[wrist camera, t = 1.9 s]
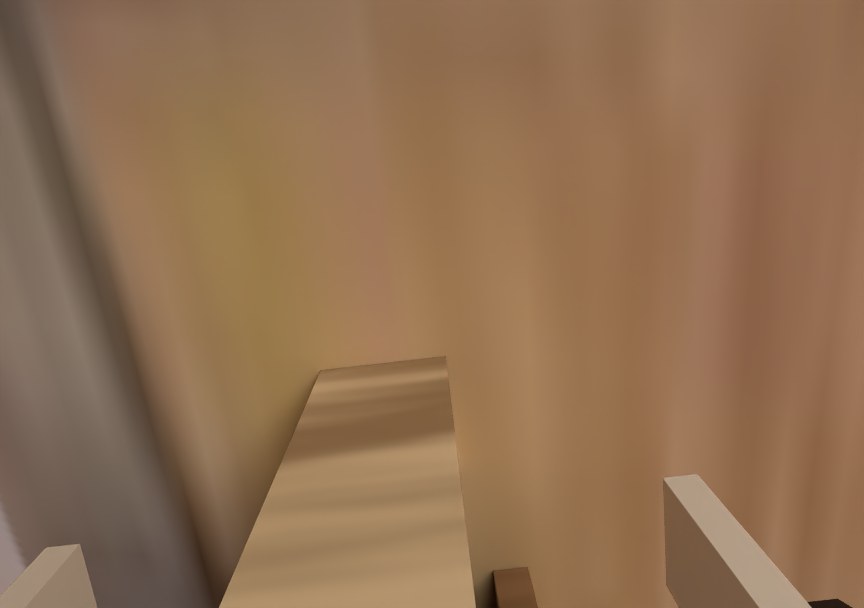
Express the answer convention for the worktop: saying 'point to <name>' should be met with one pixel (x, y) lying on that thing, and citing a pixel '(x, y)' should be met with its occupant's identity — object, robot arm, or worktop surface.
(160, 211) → the worktop surface
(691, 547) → the robot arm
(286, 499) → the tan wood-grain block
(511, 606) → the brown wooden stand
